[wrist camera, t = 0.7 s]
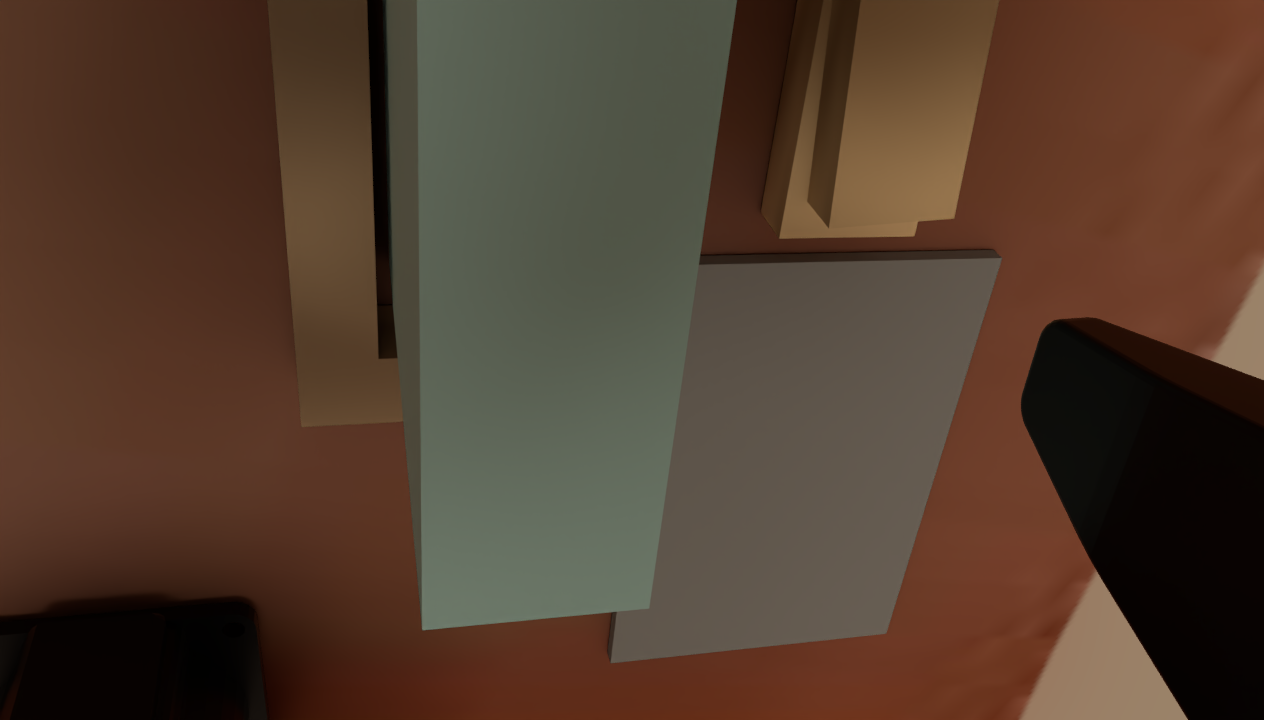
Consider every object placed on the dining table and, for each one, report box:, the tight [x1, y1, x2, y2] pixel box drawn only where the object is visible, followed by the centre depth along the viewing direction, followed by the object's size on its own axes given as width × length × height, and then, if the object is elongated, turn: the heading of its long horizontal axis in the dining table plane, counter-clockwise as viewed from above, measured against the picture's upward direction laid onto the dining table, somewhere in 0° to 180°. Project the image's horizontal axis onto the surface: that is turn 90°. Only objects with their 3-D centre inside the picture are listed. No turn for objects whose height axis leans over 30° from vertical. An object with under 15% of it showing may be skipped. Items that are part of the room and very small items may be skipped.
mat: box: [608, 250, 1002, 663], centre depth 28 cm, size 12×8×1 cm, turn 175°
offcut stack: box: [761, 0, 999, 239], centre depth 21 cm, size 8×3×2 cm, turn 174°
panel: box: [382, 0, 737, 630], centre depth 16 cm, size 10×3×10 cm, turn 175°
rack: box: [267, 0, 403, 427], centre depth 19 cm, size 15×7×2 cm, turn 175°
